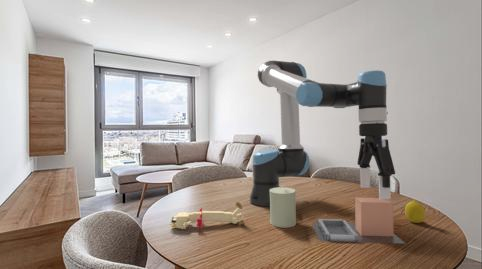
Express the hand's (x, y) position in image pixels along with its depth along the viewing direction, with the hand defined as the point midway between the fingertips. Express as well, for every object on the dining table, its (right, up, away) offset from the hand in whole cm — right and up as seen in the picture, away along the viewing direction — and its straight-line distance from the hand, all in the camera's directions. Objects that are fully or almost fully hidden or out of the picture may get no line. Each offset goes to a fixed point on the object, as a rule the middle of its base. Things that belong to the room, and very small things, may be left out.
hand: (374, 192), depth 74 cm
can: (-26, -14, +12) cm, 31 cm away
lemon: (+18, -13, +8) cm, 24 cm away
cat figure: (-52, -14, +11) cm, 55 cm away
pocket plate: (-6, -13, +1) cm, 14 cm away
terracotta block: (0, -12, +1) cm, 12 cm away
